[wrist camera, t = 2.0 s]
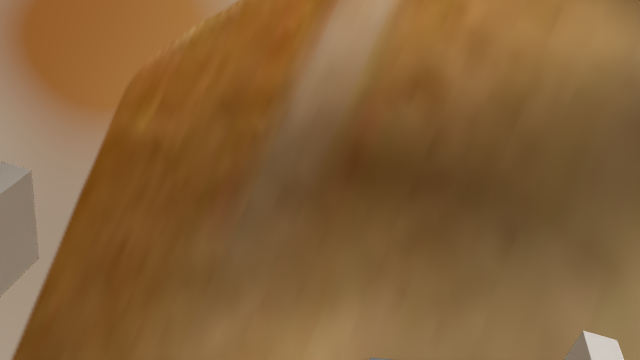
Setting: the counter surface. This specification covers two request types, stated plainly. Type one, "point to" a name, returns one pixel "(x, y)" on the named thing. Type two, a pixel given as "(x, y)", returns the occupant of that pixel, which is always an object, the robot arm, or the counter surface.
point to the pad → (378, 359)
